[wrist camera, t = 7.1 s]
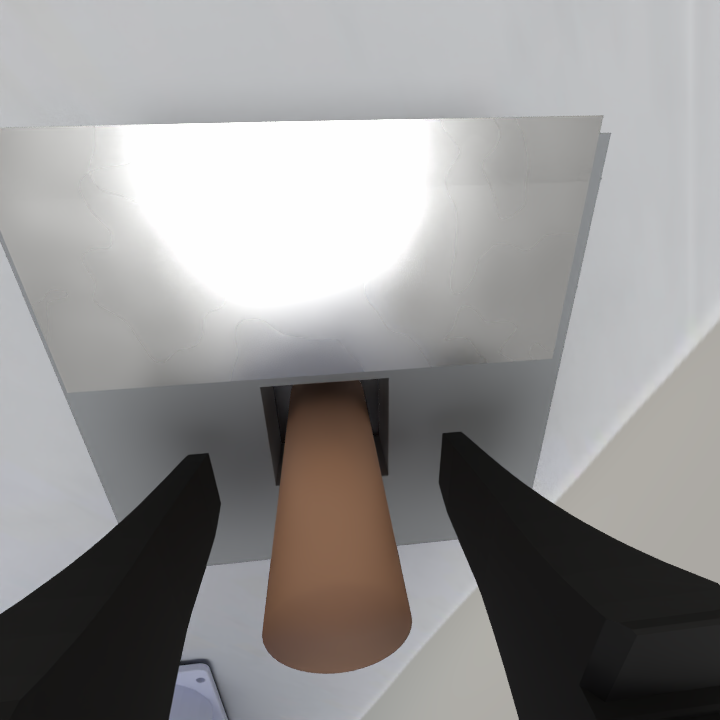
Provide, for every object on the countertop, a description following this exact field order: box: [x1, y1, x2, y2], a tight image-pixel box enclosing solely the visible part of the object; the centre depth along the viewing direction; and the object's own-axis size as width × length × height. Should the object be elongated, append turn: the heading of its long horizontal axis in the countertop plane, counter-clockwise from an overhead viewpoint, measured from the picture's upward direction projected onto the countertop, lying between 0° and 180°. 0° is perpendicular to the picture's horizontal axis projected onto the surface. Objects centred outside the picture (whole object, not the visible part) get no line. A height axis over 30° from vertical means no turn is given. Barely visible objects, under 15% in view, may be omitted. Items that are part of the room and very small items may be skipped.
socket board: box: [0, 133, 611, 566], centre depth 14 cm, size 15×16×2 cm
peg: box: [262, 380, 412, 674], centre depth 12 cm, size 3×3×9 cm
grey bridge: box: [0, 115, 603, 393], centre depth 9 cm, size 4×10×4 cm, turn 92°
